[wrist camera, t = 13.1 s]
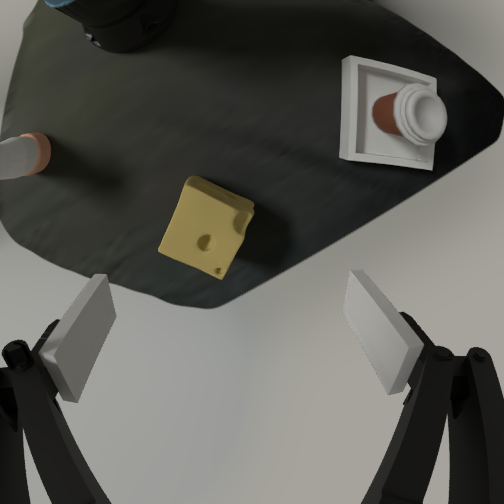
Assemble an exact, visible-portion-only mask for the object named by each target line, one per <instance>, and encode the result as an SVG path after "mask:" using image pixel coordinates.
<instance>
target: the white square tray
mask: <svg viewBox="0 0 504 504" xmlns="http://www.w3.org/2000/svg"><path fill="white" fill-rule="evenodd" d="M413 83H420V84H423V85H426V86H428V87H429V88H430V89H432V90H433V91H434V92H435V93H436V94H437V86H436V78H434V77H431V76H428V75H425V74H422V73H418V72H415V71H412V70H409V69H405V68H402V67H398V66H395V65H391V64H387V63H383V62H379V61H375V60H370V59H366V58H361V57H356V56H351V55H350V56H348V57H346V58H344V59H342V107H341V134H340V153H339V158H342V159H346V160H352V161H363V162H373V163H382V164H390V165H398V166H406V167H413V168H420V169H426V170H432V169H433V159H434V147H435V143H434V144H431V145H428V146H425V147H424V146H419V145H414V144H412V143H410V142H409V141H408V140H406V139H405V138H404V137H401V136H397V135H394V134H390V133H385V132H382V131H381V130H379V129H378V128H377V127H376V126H375V125H374V123H373V121H372V118H371V106H372V104H373V102H374V101H375V100H376V99H377V98H378V97H382V96H385V95H389V94H392V93H395V92H398V91H399V90H400V89H401V88H403V87H404V86H405V85H408V84H413Z"/></svg>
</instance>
